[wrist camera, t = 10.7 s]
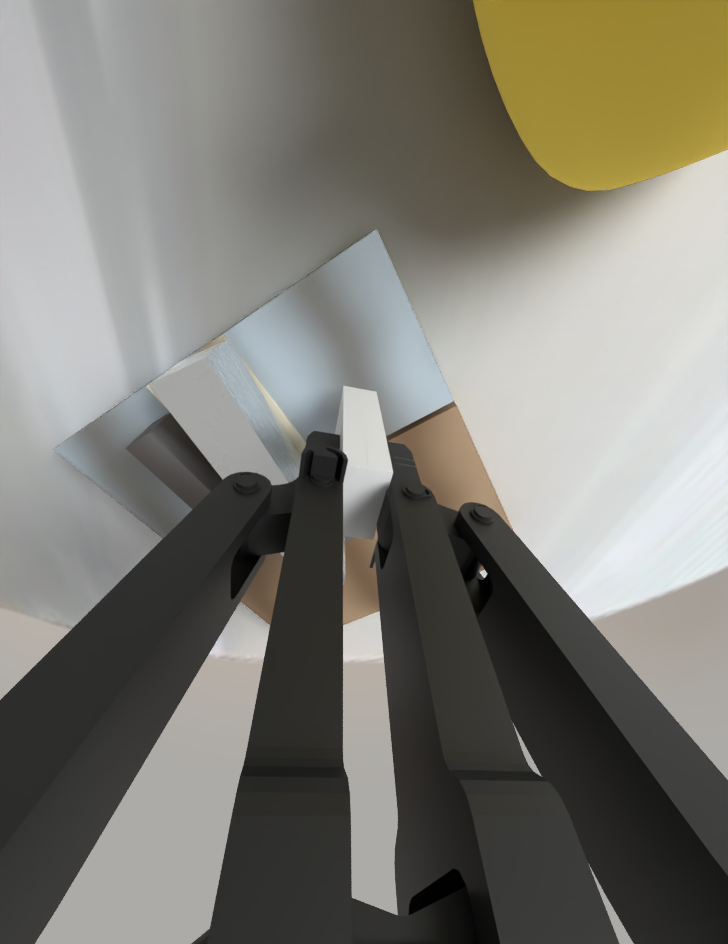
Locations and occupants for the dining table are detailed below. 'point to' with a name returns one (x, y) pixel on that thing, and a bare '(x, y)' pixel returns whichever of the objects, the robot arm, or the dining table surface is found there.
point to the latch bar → (228, 416)
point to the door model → (302, 409)
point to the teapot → (611, 83)
